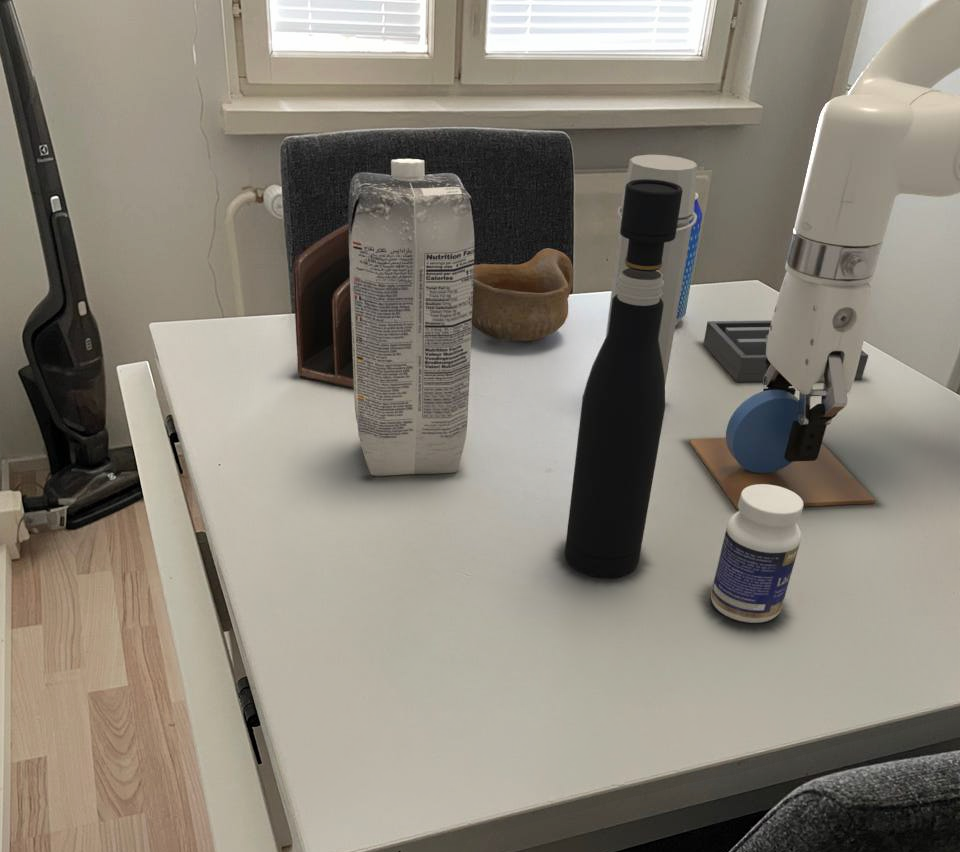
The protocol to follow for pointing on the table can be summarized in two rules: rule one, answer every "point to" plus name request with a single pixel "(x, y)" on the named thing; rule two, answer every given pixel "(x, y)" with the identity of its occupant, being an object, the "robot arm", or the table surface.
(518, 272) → the bowl
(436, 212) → the juice carton
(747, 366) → the dish rack
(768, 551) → the pill bottle
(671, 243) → the water bottle
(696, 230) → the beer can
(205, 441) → the table surface
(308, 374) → the letter holder
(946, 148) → the robot arm
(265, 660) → the table surface
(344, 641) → the table surface
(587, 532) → the wine bottle
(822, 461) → the brown square board
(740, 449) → the blue lid
